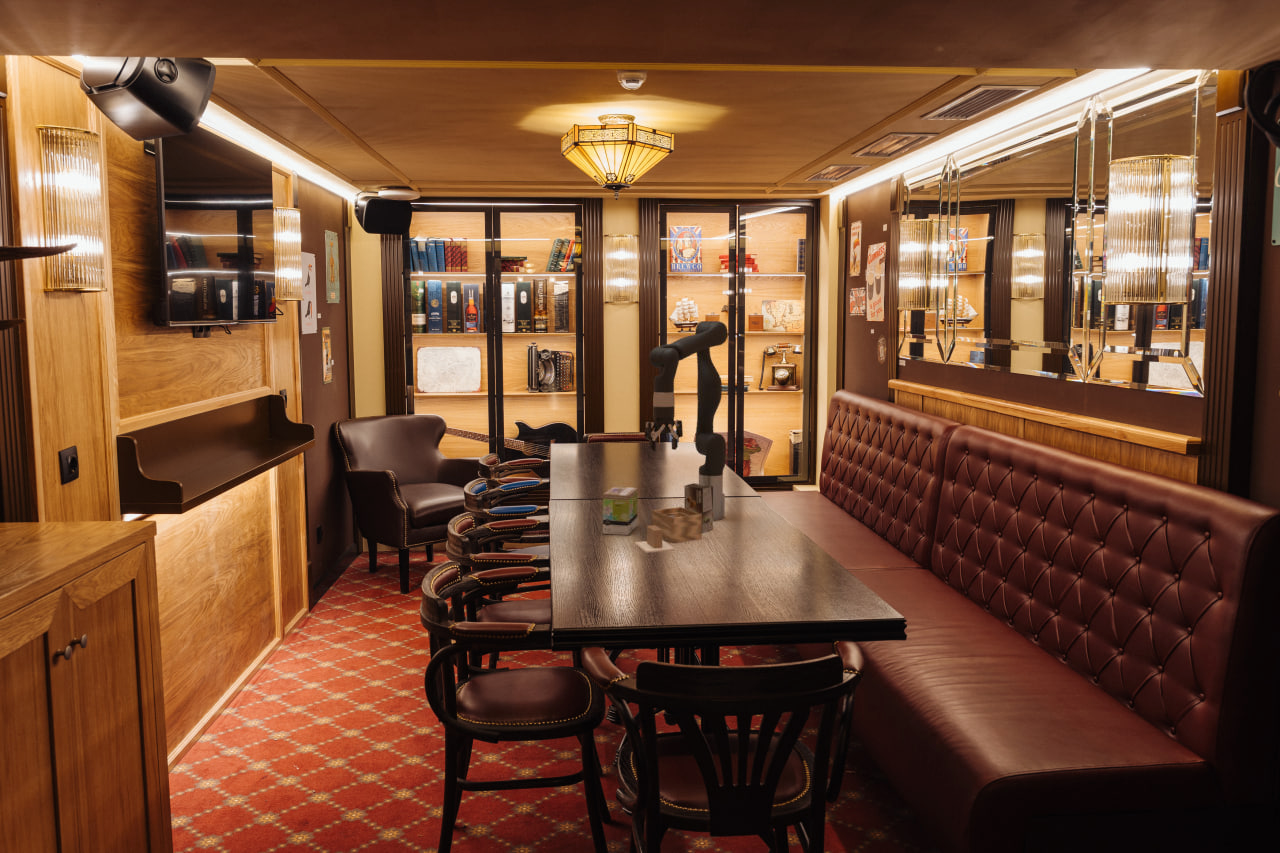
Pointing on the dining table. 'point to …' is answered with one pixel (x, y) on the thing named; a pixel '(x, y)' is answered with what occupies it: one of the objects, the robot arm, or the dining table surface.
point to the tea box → (620, 510)
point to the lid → (654, 541)
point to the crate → (678, 524)
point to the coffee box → (700, 502)
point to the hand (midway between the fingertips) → (663, 450)
